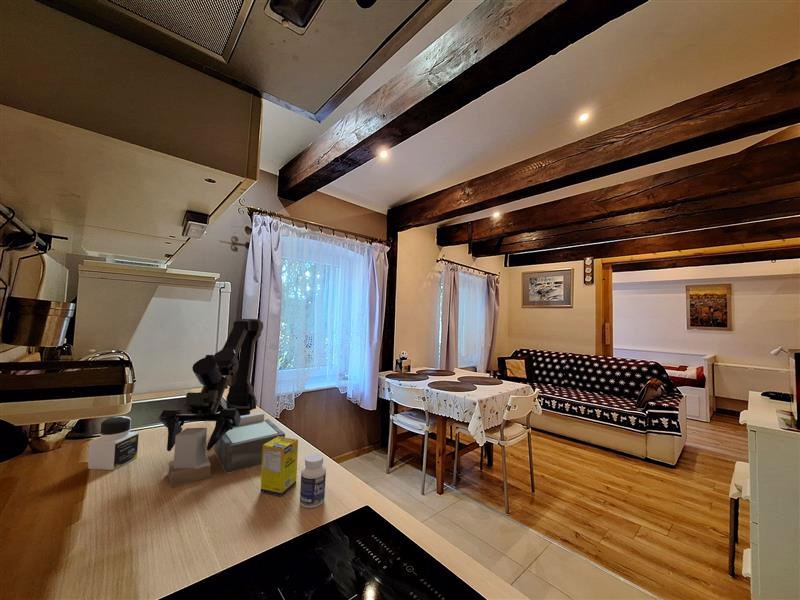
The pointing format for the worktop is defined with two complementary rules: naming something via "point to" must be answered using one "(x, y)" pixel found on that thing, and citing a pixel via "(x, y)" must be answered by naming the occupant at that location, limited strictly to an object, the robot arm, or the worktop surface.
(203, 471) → the walnut plinth
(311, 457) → the pill bottle
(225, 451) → the frame
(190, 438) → the light grey block
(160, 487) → the worktop surface
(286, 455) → the supplement box
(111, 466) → the medicine bottle
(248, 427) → the trapdoor
